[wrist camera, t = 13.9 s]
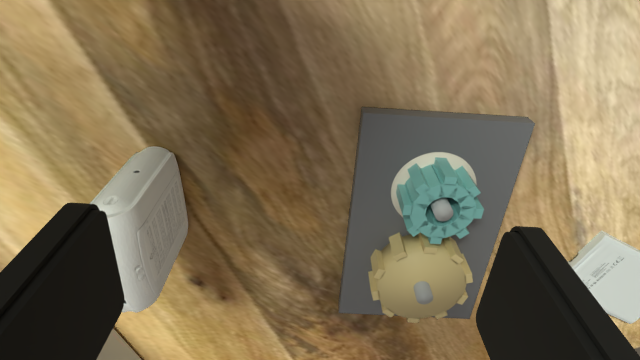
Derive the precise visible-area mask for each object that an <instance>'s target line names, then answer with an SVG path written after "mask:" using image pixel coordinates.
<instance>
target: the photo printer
mask: <svg viewBox="0 0 640 360" xmlns="http://www.w3.org/2000/svg"><path fill="white" fill-rule="evenodd" d="M90 204H95V205H97V206H98V208H99V210H100V211H104V212H105V213H106V215H107V219H108V224H109V228H110V233H111V237H112V242H113V246H114V251H115V256H116V260H117V265H118V269H119V274H120V278H121V283H122V288H123V292H124V306H123V310H122V312H127V311H133V312H140V311H142V310H144V309H146V308H148V307H149V306H151V305H152V304H153V303H154V302H155V301H156V300H157V298H158V297H159V295H160V293H161V291H162V288H163V286H164V284H165V282H166V280H167V277H168V275H169V273H170V271H171V269H172V266H173V264H174V262H175V260H176V258H177V256H178V253H179V251H180V249H181V247H182V245H183V243H184V241H185V238H186V236H187V233H188V217H187V210H186V204H185V199H184V193H183V188H182V182H181V177H180V172H179V168H178V164H177V161H176V158H175V155H174V153H172V152H169V151H168V150H167V149H165V148H162V147H156V146H152V147H147V148H145V149H143V150H142V151H141V152H137V153H135V154H134V155H133V156H132V157H131V158H130V159H129V160H128V161H127V162H126V163H125V164H124V165H123V167H122V168H121V169H120V170H119V171H118V172H117V173H116V175H115V176H114V177H113V178H112V179H111V180H110V181H109V182H108V184H107V185H106V186H105V187H104V188H103V189H102V190H101V191H100V193H99V194H98V195H97V196H96V197H95V198H94V199H93V201H92V202H91V203H90Z"/></svg>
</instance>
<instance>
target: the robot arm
mask: <svg viewBox="0 0 640 360" xmlns="http://www.w3.org/2000/svg"><path fill="white" fill-rule="evenodd" d="M123 306H124V292H123V288H122V283H121V278H120V274H119V269H118V265H117V260H116V256H115V251H114V246H113V242H112V237H111V233H110V228H109V224H108V219H107V215H106V213H105V212H104V211H100V210H99V208H98V206H97V205H95V204H85V203H67V204H66V205H64V206H63V207H62V208H61V209H60V210H59V211H58V212H57V214H56V215H55V216H54V217H53V218H52V219H51V220H50V221H49V222H48V223H47V224H46V225H45V226H44V227H43V228H42V229H41V230H40V231H39V232H38V234H37V235H36V236H35V237H34V238H33V239H32V240H31V241H30V242H29V243H28V244H27V245H26V246H25V247H24V248H23V249H22V250H21V251H20V252H19V253H18V255H17V256H16V257H15V258H14V259H13V260H12V261H11V262H10V263H9V264H8V265H7V266H6V267H5V268H4V269H3V270H2V271H1V272H0V360H96V359H97V358H98V356H99V354H100V352H101V350H102V348H103V346H104V344H105V342H106V341H107V339H108V337H109V335H110V333H111V331H112V329H113V327H114V325H115V323H116V322H117V320H118V318H119V316H120V314H121V312H122V310H123ZM476 323H477V327H478V330H479V333H480V335H481V338H482V340H483V342H484V345H485V347H486V350H487V352H488V355H489V357H490V360H640V356H639V355H638V354H637V352H636V351H635V350H634V348H633V347H632V346H631V344H630V343H629V342H628V340H627V339H626V338H625V337H624V335H623V334H622V333H621V331H620V330H619V329H618V327H617V326H616V325H615V323H614V322H613V321H612V320H611V318H610V317H609V316H608V314H607V313H606V312H605V310H604V309H603V308H602V306H601V305H600V304H599V303H598V301H597V300H596V299H595V297H594V296H593V295H592V293H591V292H590V291H589V289H588V288H587V287H586V285H585V284H584V283H583V282H582V280H581V279H580V278H579V276H578V275H577V274H576V272H575V271H574V270H573V268H572V267H571V266H570V265H569V263H568V262H567V261H566V259H565V258H564V257H563V255H562V254H561V253H560V251H559V250H558V249H557V248H556V246H555V245H554V244H553V242H552V241H551V240H550V238H549V237H548V236H547V234H546V233H545V232H544V231H543V230H542V229H541V228H538V227H520V226H515V227H513V228H512V229H511V231H510V232H505V233H504V235H503V237H502V239H501V242H500V245H499V248H498V251H497V254H496V257H495V260H494V263H493V266H492V269H491V272H490V275H489V277H488V280H487V283H486V286H485V289H484V292H483V295H482V298H481V301H480V304H479V307H478V310H477V313H476Z"/></svg>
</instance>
